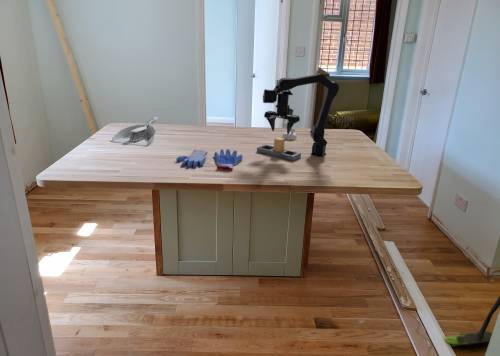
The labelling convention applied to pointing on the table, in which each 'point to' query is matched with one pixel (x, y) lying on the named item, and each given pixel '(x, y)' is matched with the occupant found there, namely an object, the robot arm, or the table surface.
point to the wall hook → (291, 135)
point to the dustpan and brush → (136, 133)
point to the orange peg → (279, 144)
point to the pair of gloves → (223, 160)
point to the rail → (284, 155)
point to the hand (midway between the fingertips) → (280, 132)
